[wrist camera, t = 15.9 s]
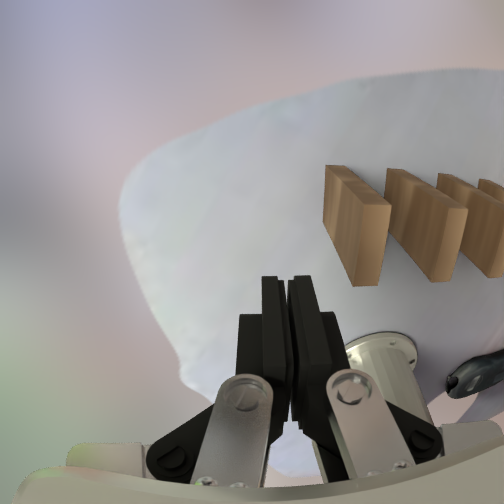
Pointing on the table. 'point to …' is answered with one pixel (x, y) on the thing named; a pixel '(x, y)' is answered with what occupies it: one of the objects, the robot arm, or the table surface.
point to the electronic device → (477, 375)
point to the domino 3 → (478, 224)
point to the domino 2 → (425, 223)
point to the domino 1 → (356, 224)
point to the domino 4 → (492, 189)
